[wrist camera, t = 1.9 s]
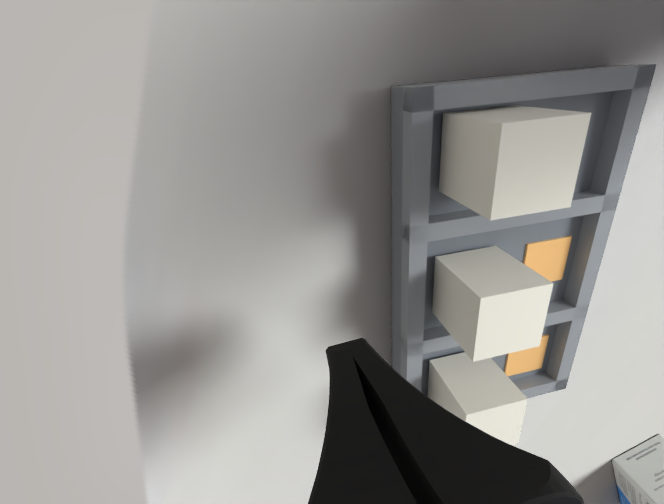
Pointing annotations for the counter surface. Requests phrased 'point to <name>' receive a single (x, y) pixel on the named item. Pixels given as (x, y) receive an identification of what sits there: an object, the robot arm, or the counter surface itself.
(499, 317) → the cream rectangular block
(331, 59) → the counter surface
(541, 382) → the grey divided tray
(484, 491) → the robot arm
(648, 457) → the ink box
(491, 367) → the off-white rectangular block
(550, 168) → the off-white rectangular block
